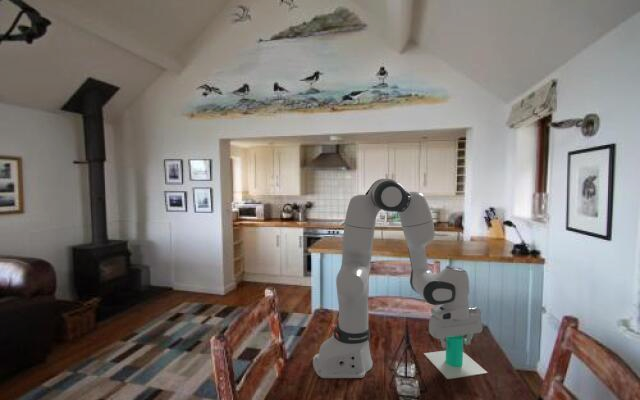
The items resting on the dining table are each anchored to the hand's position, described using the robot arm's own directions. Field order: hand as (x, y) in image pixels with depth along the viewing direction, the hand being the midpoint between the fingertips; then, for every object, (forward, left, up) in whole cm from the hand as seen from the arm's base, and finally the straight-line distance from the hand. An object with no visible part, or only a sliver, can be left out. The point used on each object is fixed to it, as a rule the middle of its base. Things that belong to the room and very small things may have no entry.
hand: (455, 345), depth 118 cm
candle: (0, 0, -7) cm, 7 cm away
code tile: (0, 0, -7) cm, 7 cm away
